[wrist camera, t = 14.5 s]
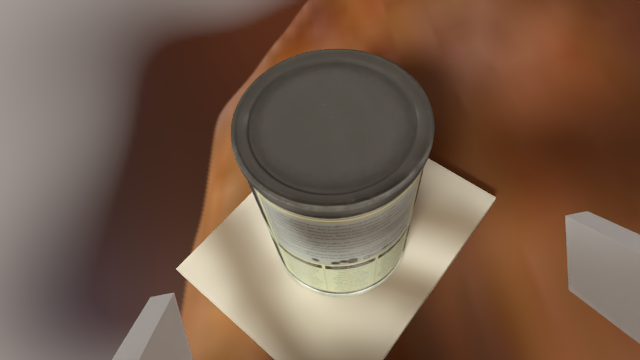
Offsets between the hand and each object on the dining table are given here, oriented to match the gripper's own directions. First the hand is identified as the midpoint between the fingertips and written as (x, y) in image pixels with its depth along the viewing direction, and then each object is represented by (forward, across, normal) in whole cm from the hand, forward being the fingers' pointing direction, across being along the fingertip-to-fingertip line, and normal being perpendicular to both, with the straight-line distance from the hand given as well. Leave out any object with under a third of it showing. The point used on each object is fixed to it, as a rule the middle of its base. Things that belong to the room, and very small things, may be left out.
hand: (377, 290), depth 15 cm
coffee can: (+19, 0, -5) cm, 20 cm away
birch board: (+20, 0, -6) cm, 21 cm away
